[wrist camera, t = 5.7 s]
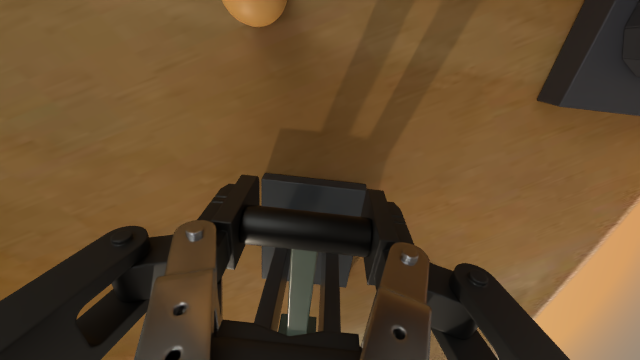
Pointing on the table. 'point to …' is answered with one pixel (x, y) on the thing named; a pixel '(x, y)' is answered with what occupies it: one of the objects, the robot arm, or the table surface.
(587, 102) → the button block
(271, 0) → the figurine
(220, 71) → the table surface
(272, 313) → the bracket
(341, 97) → the table surface
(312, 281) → the lever
